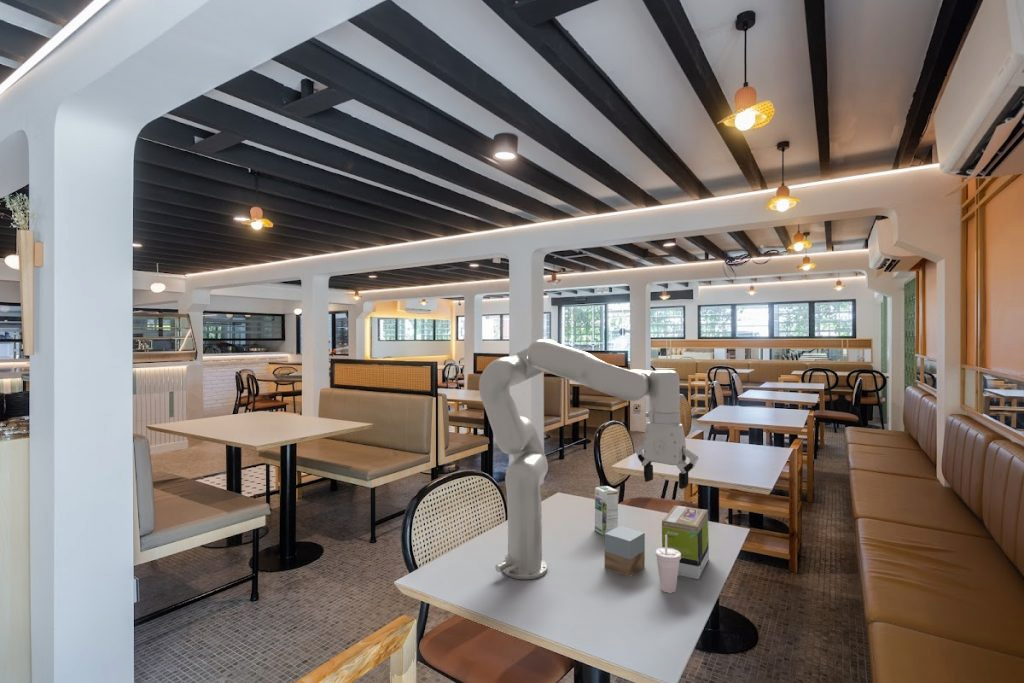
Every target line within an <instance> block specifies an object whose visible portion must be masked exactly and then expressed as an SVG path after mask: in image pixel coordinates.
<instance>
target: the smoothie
mask: <svg viewBox="0 0 1024 683" xmlns="http://www.w3.org/2000/svg"><path fill="white" fill-rule="evenodd" d="M655 557H656V562H657V569H658V577H659V585H660V590H661V591H662V592H663V591H664V592H663V593H666V592H668V593H667V594H673V593H672V592H674V593H676V589H677V583H678V576H679V575H678V569H679V561H680V559H681V553H680V552H679V551H678V550H676V549H672V548H667V535H665V548H662V547H659V548H657V549H655Z"/></svg>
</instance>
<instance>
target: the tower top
mask: <svg viewBox="0 0 1024 683" xmlns="http://www.w3.org/2000/svg"><path fill="white" fill-rule="evenodd" d="M645 534H646V533H645V532H643V531H640V530H638V529H637V530H636V529H633V528H629V527H627V526H626V527H625V526H622V525H619V526H618V527H616V528H615V529H613V530H611V531H609V532H607V533H605V536H604V552H605V551H606V552H609V553H612V554H615V555H618V556H621V557H624V558H627V559H632V558H633V557H635V556H637V555H638V554H640V553H641V552H643V551H644V550H646V548H645V547H646V546H645V544H646V541H645V540H646V538H645Z"/></svg>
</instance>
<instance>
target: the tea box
mask: <svg viewBox="0 0 1024 683" xmlns="http://www.w3.org/2000/svg"><path fill="white" fill-rule="evenodd" d="M665 535H667V548H672V549H676V550H678V551H679V552H680V553H681V559H680V561H679V569H678V576H680V575H681V577H684V576H685V578H689V579H690V578H691V579H694V580H699V579H700V576H701V575H702V573H703V571H704V570H705V567H706V564H707V562H708V561H709V558H710V551H709V550H710V548H709V547H710V546H709V542H710V541H709V540H710V538H709V510H708V509H703V508H702V509H701V508H696V507H690V506H682V505H676V504H675V505H673V507H672V508H671V509H670V510H669V512H668V513H667V514H666V515H665V517H664V518H663V519H662V520H661V543H662V544H661V545H662V546H661V548H665Z"/></svg>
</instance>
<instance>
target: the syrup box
mask: <svg viewBox="0 0 1024 683" xmlns="http://www.w3.org/2000/svg"><path fill="white" fill-rule="evenodd" d="M618 520H619V490H618V489H616V488H613V487H611V486H608V485H604V486H603V485H601V486H598V487H597V486H596V487H595V488H594V531H595V530H596V532H597V533H599V534H600V535H602V536H604V537H605V533H607V532H609V531H611V530H613V529H615V528H616V527H618V523H619V521H618Z"/></svg>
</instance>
